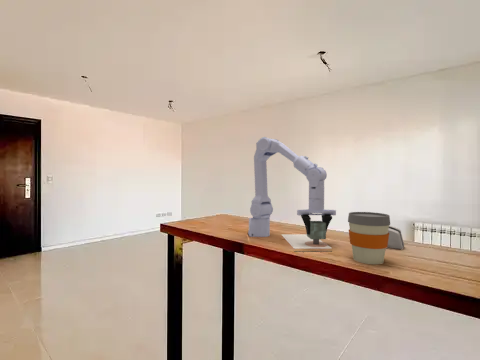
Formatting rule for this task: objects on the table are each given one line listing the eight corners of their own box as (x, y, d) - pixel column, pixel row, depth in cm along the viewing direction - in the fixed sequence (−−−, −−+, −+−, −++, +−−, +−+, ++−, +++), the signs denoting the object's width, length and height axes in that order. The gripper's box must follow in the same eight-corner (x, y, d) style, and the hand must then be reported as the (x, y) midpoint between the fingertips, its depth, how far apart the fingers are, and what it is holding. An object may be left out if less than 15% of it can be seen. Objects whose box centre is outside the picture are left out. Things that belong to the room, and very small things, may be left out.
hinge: (405, 247, 105) (403, 224, 102) (403, 253, 102) (401, 229, 99) (360, 240, 116) (358, 219, 113) (357, 245, 113) (354, 224, 110)
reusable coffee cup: (353, 252, 97) (354, 210, 97) (393, 259, 89) (393, 214, 89) (342, 260, 87) (342, 214, 87) (385, 269, 79) (385, 218, 79)
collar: (311, 239, 101) (311, 223, 101) (306, 236, 106) (306, 220, 106) (325, 239, 101) (326, 223, 101) (320, 236, 107) (320, 220, 107)
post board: (294, 251, 97) (294, 234, 97) (281, 237, 121) (281, 223, 121) (332, 251, 98) (332, 234, 98) (312, 236, 122) (312, 223, 122)
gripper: (300, 199, 99) (300, 236, 99) (339, 199, 100) (338, 236, 100) (295, 198, 106) (295, 232, 106) (331, 198, 107) (331, 232, 107)
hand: (316, 234), depth 104 cm, fingers closed on collar, 6 cm apart
